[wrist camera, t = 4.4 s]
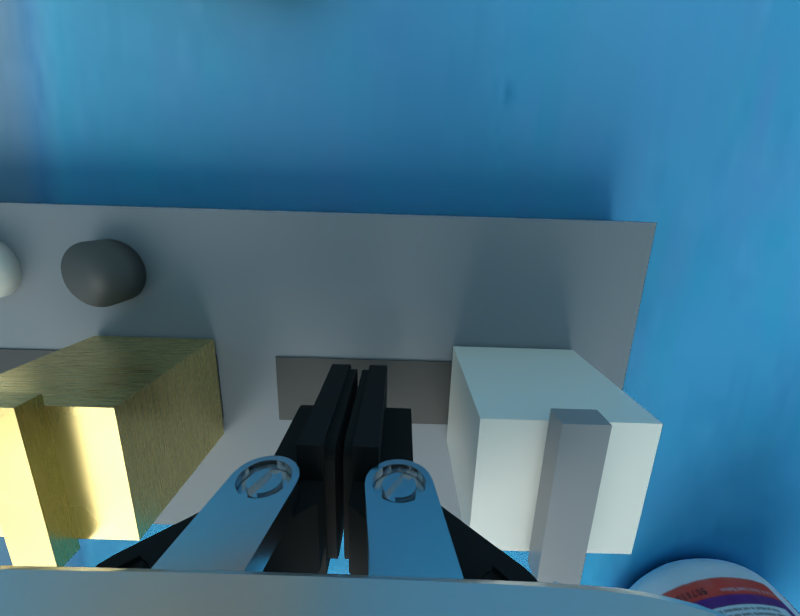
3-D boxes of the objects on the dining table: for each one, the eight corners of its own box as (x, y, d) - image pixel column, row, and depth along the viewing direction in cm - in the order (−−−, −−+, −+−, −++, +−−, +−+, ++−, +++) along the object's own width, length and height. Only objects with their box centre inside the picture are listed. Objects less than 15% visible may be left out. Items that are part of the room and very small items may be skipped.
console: (565, 489, 17) (609, 564, 13) (-267, 465, 17) (-449, 534, 13) (611, 220, 14) (686, 223, 10) (-410, 189, 14) (-699, 182, 10)
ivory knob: (556, 450, 13) (644, 588, 8) (446, 447, 13) (471, 583, 8) (573, 341, 12) (686, 427, 7) (453, 337, 12) (487, 421, 7)
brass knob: (224, 441, 13) (123, 573, 8) (113, 437, 13) (-51, 568, 8) (212, 330, 12) (88, 409, 7) (92, 326, 12) (-112, 403, 7)
